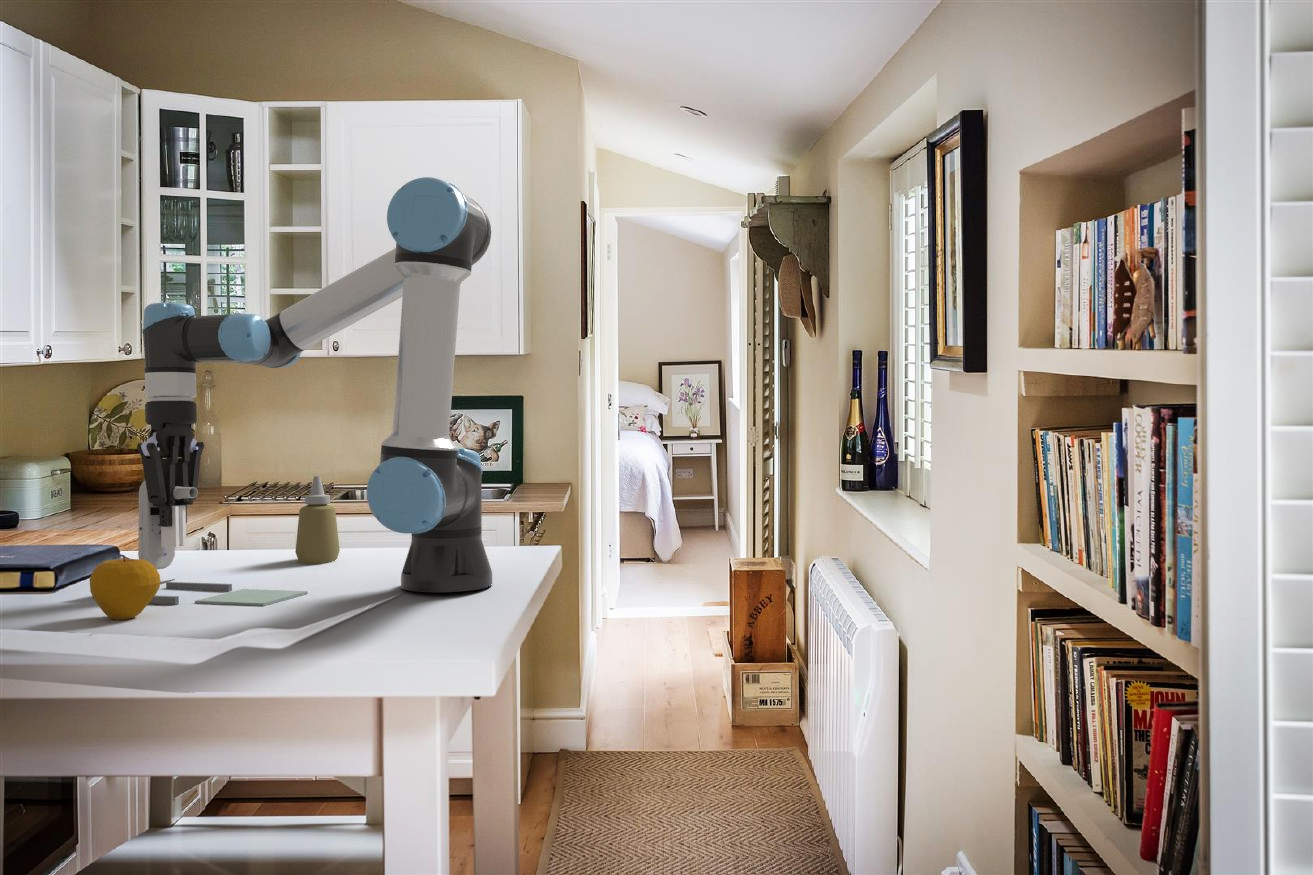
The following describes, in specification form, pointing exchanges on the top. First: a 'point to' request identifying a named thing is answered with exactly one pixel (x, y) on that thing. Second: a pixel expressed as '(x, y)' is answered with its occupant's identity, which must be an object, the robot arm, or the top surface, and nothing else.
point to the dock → (187, 586)
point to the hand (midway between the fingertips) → (174, 546)
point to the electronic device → (156, 528)
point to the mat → (251, 597)
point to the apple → (124, 586)
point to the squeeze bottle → (317, 528)
